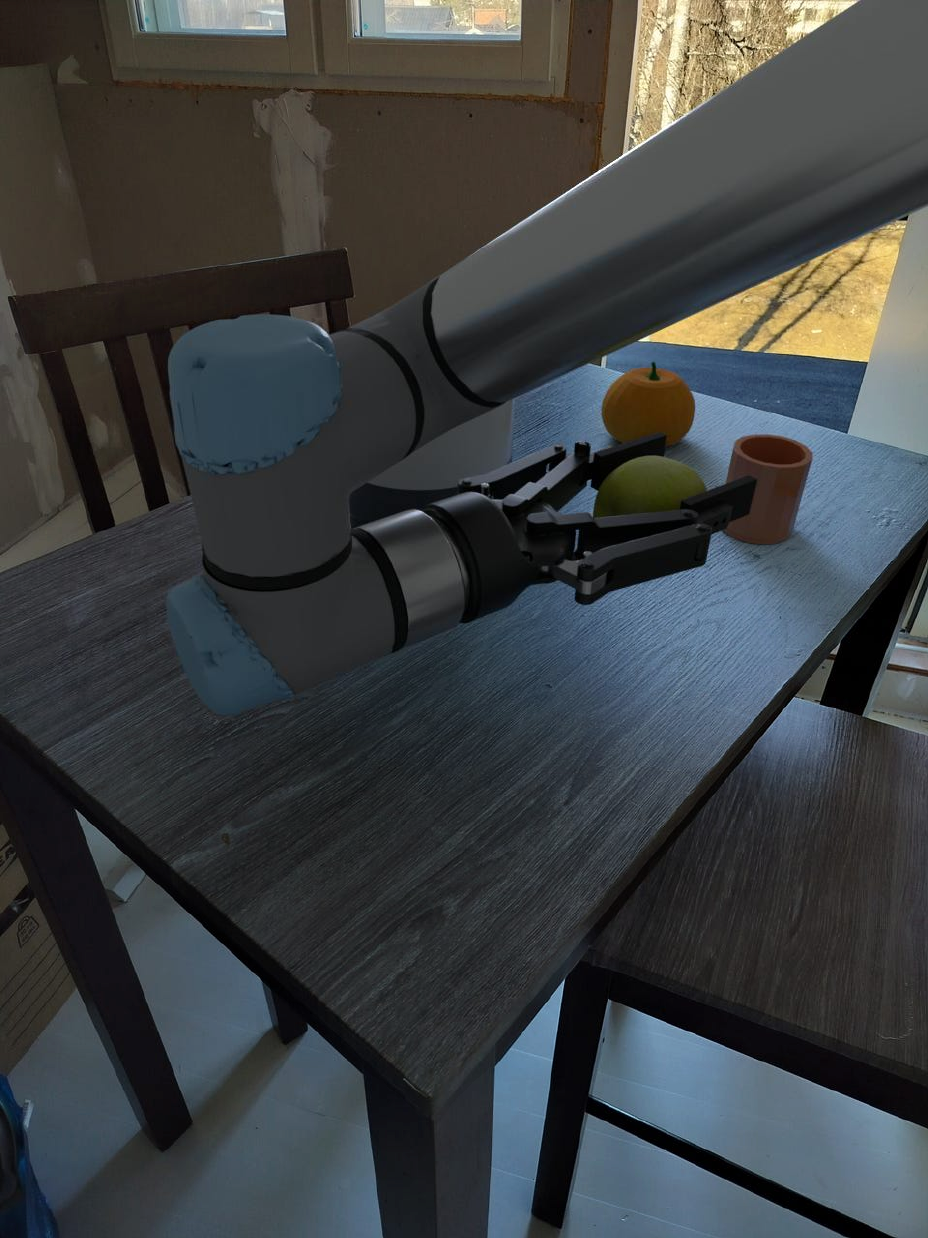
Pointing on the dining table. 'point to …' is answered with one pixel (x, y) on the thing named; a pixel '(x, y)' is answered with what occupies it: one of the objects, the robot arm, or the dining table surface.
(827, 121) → the robot arm
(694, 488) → the apple
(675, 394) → the fruit
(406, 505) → the planter
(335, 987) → the dining table surface
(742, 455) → the cup
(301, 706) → the dining table surface
